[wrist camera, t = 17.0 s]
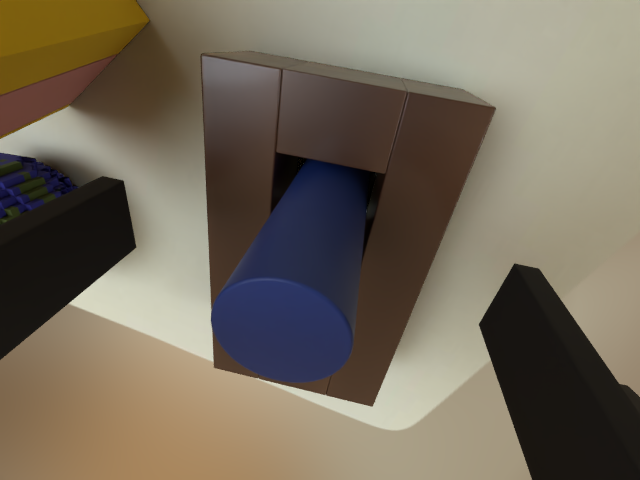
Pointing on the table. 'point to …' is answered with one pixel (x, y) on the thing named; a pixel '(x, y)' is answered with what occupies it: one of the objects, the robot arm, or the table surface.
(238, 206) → the holder
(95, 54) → the alarm clock
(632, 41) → the table surface
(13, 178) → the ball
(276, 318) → the blue long cylinder
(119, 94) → the table surface
